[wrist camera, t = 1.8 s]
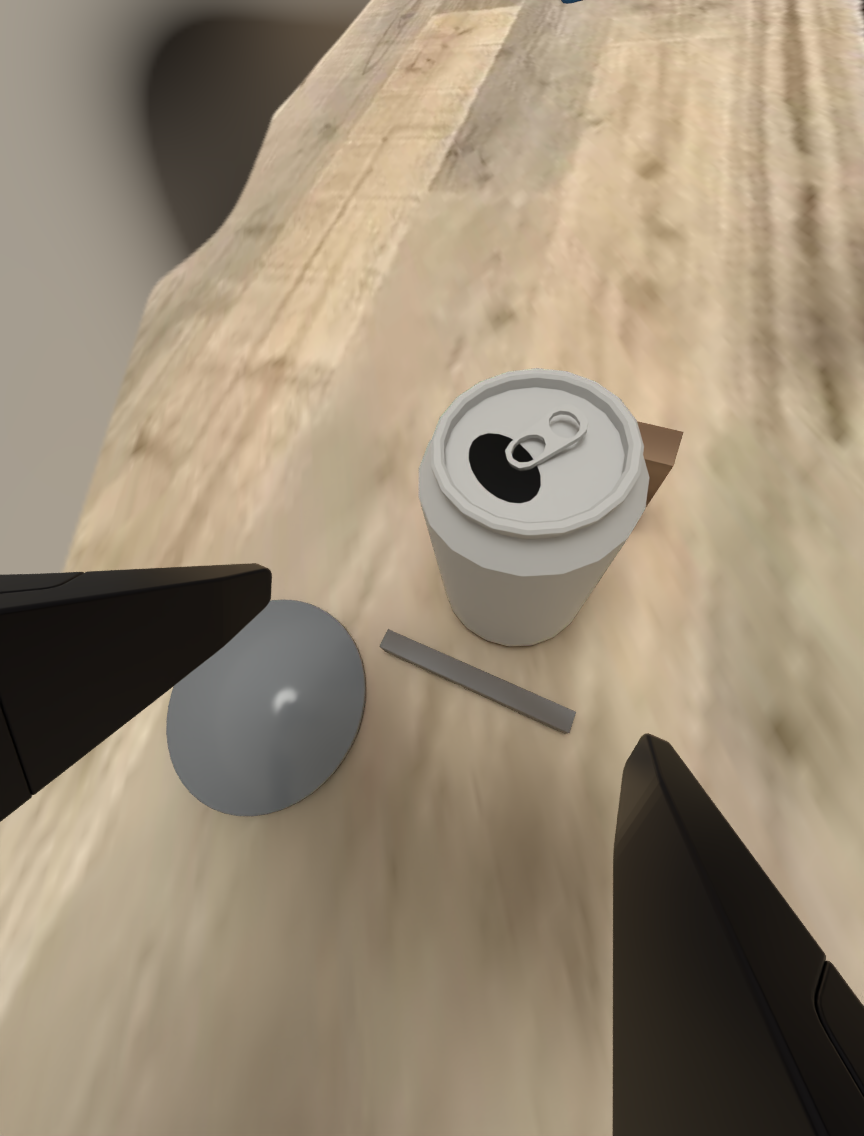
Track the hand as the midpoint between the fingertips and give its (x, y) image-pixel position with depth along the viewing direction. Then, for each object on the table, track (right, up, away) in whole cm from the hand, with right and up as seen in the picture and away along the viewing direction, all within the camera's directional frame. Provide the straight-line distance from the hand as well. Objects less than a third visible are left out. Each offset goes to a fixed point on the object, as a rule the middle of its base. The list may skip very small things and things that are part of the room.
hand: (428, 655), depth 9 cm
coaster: (-9, -5, +13) cm, 17 cm away
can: (+5, +1, +14) cm, 15 cm away
